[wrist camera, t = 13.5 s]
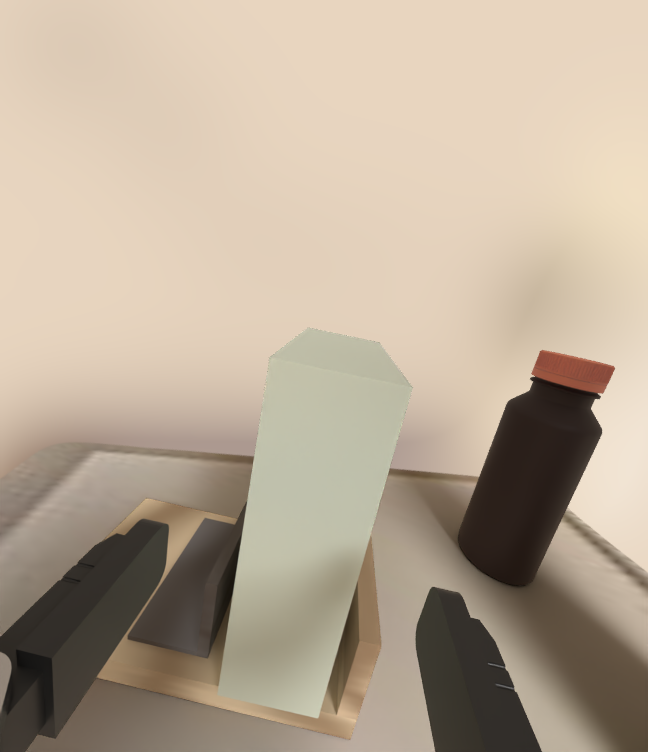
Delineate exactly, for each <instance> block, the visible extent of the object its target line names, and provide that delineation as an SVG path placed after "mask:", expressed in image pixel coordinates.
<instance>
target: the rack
mask: <svg viewBox="0 0 648 752" xmlns="http://www.w3.org/2000/svg"><path fill="white" fill-rule="evenodd" d="M246 506H247V502H246V504H245V506H244V508H243V510H242V512H241V514H240V516H239V518H238V519H236V518H232V517H227V516H223V515H218V514H214V513H210V512H205V511H201V510H197V509H192V508H188V507H183V506H179V505H175V504H170V503H166V502H161V501H157V500H153V499H148V498H146V499H145V500H144V501H143V502H142V503H141V504H140V505H139V506H138V507H137V508H136V509H135V510H134V511H133V512H132V513H131V514H130V515H129V516H128V517H127V518H125V519H124V520H123V521H122V522H121V523H120V524H119V525H118V526H117V527H116V528H115V529H114V530H113V531H112V532H111V533H110V534H109V535H108V536H107V537H106V538H105V539H107V538H109V537H111V536H112V535H114V534H116V533H118V534H122V535H125V534H126V533H127V532H128V531H129V530H130V529H131V528H132V527H133V526H134V525H135V524H136V523H137V522H138V521H139V520H141V519H143V518H144V519H149V520H153V521H157V522H161V523H166V524H168V525H169V536H168V548H167V560H166V567H165V570H164V573H163V576H162V578H161V580H160V582H159V584H158V586H157V588H156V589H155V591H154V592H153V594H152V595H151V597H150V598H149V600H148V601H147V603H146V604H145V606H144V607H143V609H142V610H141V612H140V613H139V615H138V616H137V618H136V619H135V621H134V622H133V624H132V625H131V627H130V628H129V630H128V631H127V633H126V634H125V635H124V637H123V638H122V640H121V641H120V643H119V644H118V646H117V647H116V649H115V650H114V652H113V653H112V655H111V656H110V658H109V659H108V661H107V662H106V664H105V665H104V667H103V668H102V670H101V671H100V673H99V674H98V676H97V677H96V678H100V679H104V680H108V681H113V682H117V683H121V684H125V685H129V686H133V687H137V688H141V689H145V690H149V691H153V692H157V693H161V694H165V695H170V696H174V697H178V698H182V699H186V700H190V701H194V702H198V703H202V704H206V705H210V706H214V707H218V708H222V709H227V710H231V711H235V712H239V713H243V714H247V715H251V716H255V717H259V718H263V719H267V720H271V721H275V722H280V723H284V724H288V725H292V726H296V727H300V728H304V729H308V730H312V731H316V732H320V733H324V734H328V735H332V736H337V737H341V738H345V739H349V740H350V739H351V736H352V733H353V730H354V727H355V724H356V721H357V718H358V715H359V712H360V709H361V706H362V703H363V700H364V697H365V694H366V691H367V688H368V685H369V682H370V679H371V676H372V673H373V670H374V667H375V664H376V661H377V658H378V655H379V652H380V649H381V636H380V625H379V614H378V604H377V593H376V582H375V571H374V561H373V550H372V539H371V535H370V539H369V542H368V546H367V549H366V553H365V556H364V560H363V563H362V567H361V570H360V574H359V577H358V581H357V584H356V588H355V591H354V595H353V598H352V602H351V605H350V609H349V612H348V616H347V619H346V623H345V626H344V630H343V633H342V637H341V640H340V644H339V647H338V651H337V654H336V658H335V661H334V665H333V668H332V672H331V675H330V679H329V682H328V686H327V689H326V693H325V696H324V700H323V703H322V707H321V710H320V714H319V717H318V718H313V717H309V716H305V715H301V714H296V713H292V712H288V711H283V710H279V709H275V708H271V707H266V706H262V705H258V704H253V703H249V702H245V701H240V700H236V699H232V698H228V697H223V696H219V695H217V693H218V687H219V680H220V674H221V667H222V661H223V654H224V648H225V642H226V635H227V629H228V622H229V616H230V609H231V603H232V597H233V590H234V584H235V577H236V571H237V564H238V558H239V551H240V545H241V539H242V532H243V526H244V519H245V513H246ZM105 539H104V540H105ZM104 540H103V541H104Z"/></svg>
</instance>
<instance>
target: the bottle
mask: <svg viewBox="0 0 648 752" xmlns="http://www.w3.org/2000/svg"><path fill="white" fill-rule="evenodd" d="M614 370H615V368H614V366H611V365H607V364H603V363H600V362H596V361H591V360H587V359H583V358H578V357H574V356H569V355H565V354H560V353H555V352H550V351H544V350H542V351H540V353H539V356H538V359H537V361H536V364H535V367H534V369H533V371H532V375H534V376H535V377H531V378H530V379H531V380H532V381H533V383H532V386H531V388H530V390H529V391H528V392H526V393H524V394H522V395H519V396H517V397H515V398H513V399H511V400H509V401H508V403H507V405H506V407H505V410H504V412H503V415H502V418H501V420H500V423H499V426H498V429H497V432H496V434H495V437H494V439H493V442H492V445H491V447H490V450H489V453H488V455H487V458H486V461H485V463H484V466H483V469H482V471H481V474H480V477H479V479H478V482H477V485H476V487H475V490H474V493H473V495H472V498H471V501H470V503H469V506H468V509H467V511H466V514H465V517H464V519H463V522H462V525H461V527H460V530H459V535H458V541H459V544H460V547H461V549H462V550H463V552H464V553H465V555H466V556H467V558H468V559H469V560H470V561H471V562H472V563H473V564H474V565H475V566H476V567H477V568H479V569H480V570H482V571H483V572H484V573H486V574H487V575H489V576H491V577H493V578H495V579H497V580H499V581H501V582H504V583H507V584H511V585H526V584H528V583H531V582H532V581H533V579H534V577H535V574H536V572H537V570H538V568H539V566H540V564H541V562H542V560H543V558H544V555H545V553H546V551H547V549H548V547H549V545H550V543H551V541H552V539H553V536H554V534H555V532H556V530H557V528H558V526H559V524H560V522H561V519H562V517H563V515H564V513H565V511H566V509H567V507H568V505H569V502H570V500H571V498H572V496H573V494H574V492H575V490H576V487H577V486H578V483H579V481H580V479H581V477H582V475H583V473H584V471H585V469H586V466H587V464H588V462H589V460H590V458H591V456H592V454H593V452H594V450H595V447H596V445H597V443H598V441H599V439H600V437H601V434H602V428H601V427H600V424H599V423H598V421H597V419H596V417H595V416H594V414H593V412H592V410H591V407H592V404H593V402H594V400H595V399H600V397H601V396H599V395H598V393H604V390H605V389H606V386H607V384H608V383H609V380H610V378H611V376H612V374H613V372H614Z"/></svg>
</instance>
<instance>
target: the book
mask: <svg viewBox="0 0 648 752" xmlns="http://www.w3.org/2000/svg"><path fill="white" fill-rule="evenodd" d="M412 388H413V387H412V386H411V384H410V383H409V382H408V380H407V379H406V378H405V376H404V375H403V374H402V372H401V371H400V370H399V368H398V367H397V366H396V364H395V363H394V362H393V360H392V359H391V357H390V356H389V355H388V353H387V352H386V351H385V349H384V348H383V347H382V345H381V344H380V343H379V342H375V341H370V340H365V339H360V338H356V337H351V336H346V335H341V334H336V333H332V332H326V331H322V330H317V329H312V328H307V329H306V330H305V331H303V332H302V333H301V334H299V335H298V336H297V337H296V338H294V339H293V340H292V341H290V342H289V343H288V344H286V345H285V346H284V347H282V348H281V349H280V350H279V351H277V352H276V353H275V354H273V355H272V356H271V357H270V358H269V365H268V371H267V378H266V384H265V391H264V397H263V403H262V410H261V417H260V423H259V429H258V436H257V442H256V448H255V455H254V461H253V468H252V474H251V481H250V487H249V493H248V500H247V506H246V513H245V519H244V526H243V532H242V539H241V545H240V551H239V558H238V564H237V571H236V577H235V584H234V590H233V597H232V603H231V609H230V616H229V622H228V629H227V635H226V642H225V648H224V654H223V661H222V667H221V674H220V680H219V687H218V693H217V695H219V696H223V697H228V698H232V699H236V700H240V701H245V702H249V703H253V704H258V705H262V706H266V707H271V708H275V709H279V710H283V711H288V712H292V713H296V714H301V715H305V716H309V717H313V718H318V717H319V714H320V710H321V707H322V703H323V700H324V696H325V693H326V689H327V686H328V682H329V679H330V675H331V672H332V668H333V665H334V661H335V658H336V654H337V651H338V647H339V644H340V640H341V637H342V633H343V630H344V626H345V623H346V619H347V616H348V612H349V609H350V605H351V602H352V598H353V595H354V591H355V588H356V584H357V581H358V577H359V574H360V570H361V567H362V563H363V560H364V556H365V553H366V549H367V546H368V542H369V539H370V535H371V532H372V528H373V525H374V521H375V518H376V514H377V511H378V507H379V504H380V500H381V497H382V493H383V490H384V486H385V483H386V479H387V476H388V472H389V469H390V465H391V462H392V458H393V455H394V451H395V448H396V444H397V441H398V437H399V434H400V430H401V427H402V424H403V420H404V416H405V413H406V410H407V406H408V403H409V399H410V395H411V392H412Z"/></svg>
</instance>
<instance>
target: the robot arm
mask: <svg viewBox="0 0 648 752" xmlns="http://www.w3.org/2000/svg"><path fill="white" fill-rule="evenodd" d="M168 536H169V525H168V524H166V523H161V522H157V521H153V520H149V519H144V518H143V519H141V520H139V521H138V522H137V523H136V524H135V525H134V526H133V527H132V528H131V529H130V530H129V531H128V532H127V533H126V534H125V535H122V534H118V533H116V534H114V535H112V536H111V537H109V538H107V539H105V540H104V541H102V542H100V543H99V544H97V545H95V546H94V547H93V548H92V549H91V550H90V551H89V552H88V553H87V554H86V555H85V556H84V557H83V558H82V559H81V560H80V561H79V562H78V564H77V565H76V566H75V565H74V566H73V567H72V568H71V569H70V570H69V571H68V572H67V573H66V574H65V575H64V576H63V578H62V580H59V581H58V582H57V583H56V584H55V585H54V586H53V587H52V588H51V589H50V590H49V591H47V592H46V593H45V594H44V595H43V596H42V597H41V598H40V599H39V600H38V601H37V602H36V603H35V604H34V605H33V606H32V607H31V608H30V609H29V610H28V611H27V612H26V613H25V614H24V615H23V616H22V617H21V618H20V619H18V620H17V621H16V622H15V623H14V624H13V625H12V626H11V627H10V628H9V629H8V630H7V631H6V632H5V633H4V634H3V635H2V636H1V637H0V752H25V751H26V750H27V748H28V747H29V746H30V744H31V743H32V741H33V740H34V739H35V737H36V736H37V734H39V735H43V736H47V737H51V738H56V737H57V735H58V734H59V732H60V731H61V729H62V728H63V726H64V725H65V723H66V722H67V720H68V719H69V717H70V716H71V714H72V713H73V711H74V710H75V708H76V707H77V706H78V704H79V703H80V701H81V700H82V698H83V697H84V695H85V694H86V692H87V691H88V689H89V688H90V686H91V685H92V683H93V682H94V680H95V679H96V677H97V676H98V674H99V673H100V671H101V670H102V668H103V667H104V665H105V664H106V662H107V661H108V659H109V658H110V656H111V655H112V653H113V652H114V650H115V649H116V647H117V646H118V644H119V643H120V641H121V640H122V638H123V637H124V635H125V634H126V633H127V631H128V630H129V628H130V627H131V625H132V624H133V622H134V621H135V619H136V618H137V616H138V615H139V613H140V612H141V610H142V609H143V607H144V606H145V604H146V603H147V601H148V600H149V598H150V597H151V595H152V594H153V592H154V591H155V589H156V588H157V586H158V584H159V582H160V580H161V578H162V576H163V573H164V570H165V567H166V560H167V548H168ZM416 651H417V657H418V662H419V667H420V673H421V678H422V683H423V689H424V694H425V699H426V704H427V710H428V715H429V720H430V726H431V731H432V736H433V741H434V747H435V752H542V751H541V748H540V746H539V744H538V741H537V739H536V737H535V734H534V732H533V730H532V727H531V725H530V723H529V720H528V718H527V715H526V713H525V711H524V708H523V706H522V704H521V701H520V699H519V697H518V694H517V692H515V690H514V685H513V682H512V680H511V678H510V675H509V673H508V671H506V669H505V664H504V661H503V659H502V657H501V654H500V652H499V649H498V647H497V645H496V642H495V641H494V639H493V638H492V637H491V635H490V634H489V632H488V631H487V630H486V628H485V627H484V626H483V624H482V623H481V621H480V620H478V619H474V618H470V615H469V612H468V610H467V607H466V604H465V602H464V599H463V597H462V596H461V594H460V593H458V592H453V591H449V590H445V589H440V588H436V587H432V588H431V589H430V591H429V594H428V596H427V599H426V602H425V604H424V607H423V610H422V613H421V615H420V618H419V621H418V624H417V628H416Z"/></svg>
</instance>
